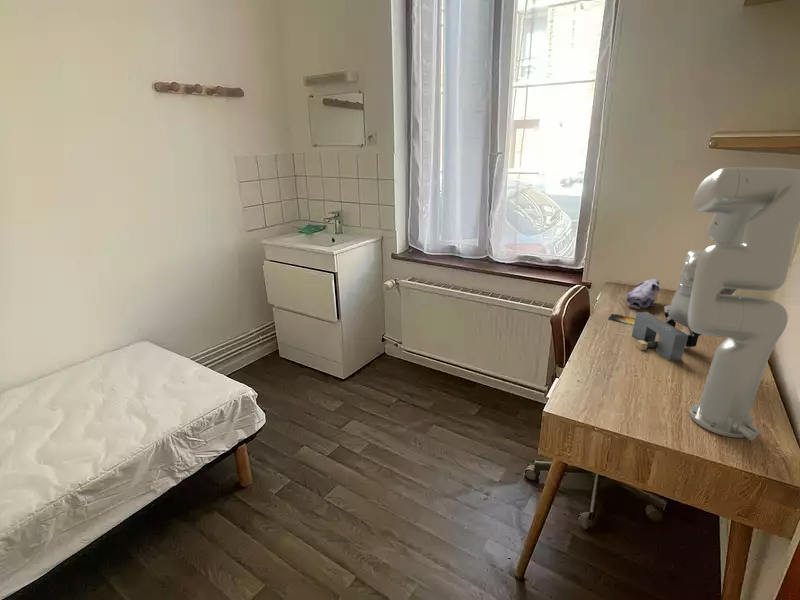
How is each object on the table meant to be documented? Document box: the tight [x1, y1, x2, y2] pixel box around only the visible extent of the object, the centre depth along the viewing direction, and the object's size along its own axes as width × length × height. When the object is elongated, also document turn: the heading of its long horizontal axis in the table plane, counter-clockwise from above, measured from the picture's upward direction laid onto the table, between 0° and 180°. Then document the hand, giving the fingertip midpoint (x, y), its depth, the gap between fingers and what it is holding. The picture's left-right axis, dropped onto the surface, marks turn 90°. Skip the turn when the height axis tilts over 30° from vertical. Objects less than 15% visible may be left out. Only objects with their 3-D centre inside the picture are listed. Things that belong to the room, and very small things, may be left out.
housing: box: [631, 311, 687, 362], centre depth 140 cm, size 18×4×8 cm, turn 8°
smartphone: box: [607, 313, 636, 326], centre depth 161 cm, size 7×1×15 cm
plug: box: [635, 329, 690, 351], centre depth 141 cm, size 4×16×4 cm, turn 99°
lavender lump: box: [626, 278, 662, 310], centre depth 174 cm, size 10×17×10 cm, turn 127°
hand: (679, 339), depth 142 cm, fingers open, 9 cm apart
